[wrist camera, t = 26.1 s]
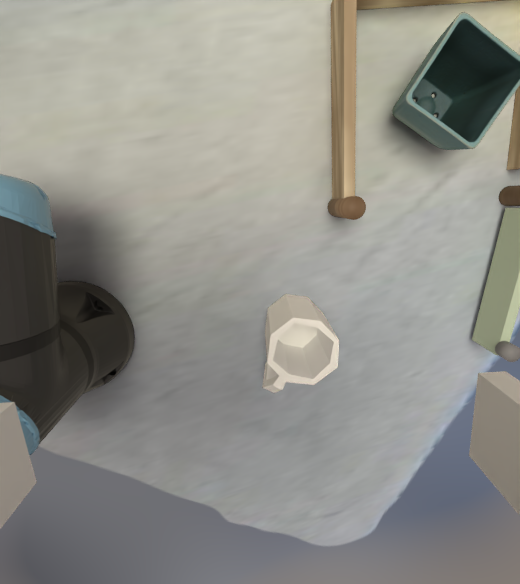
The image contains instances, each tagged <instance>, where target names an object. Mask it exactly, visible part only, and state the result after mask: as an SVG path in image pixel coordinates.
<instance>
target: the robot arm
mask: <svg viewBox="0 0 520 584" xmlns="http://www.w3.org/2000/svg"><path fill="white" fill-rule="evenodd" d="M54 239H56V233H55V232H54V231H53V225H52V218H51V210H50V203H49V199H48V197H47V195H46V194H45V193H44V191H43V190H42V189H40V188H39V187H38V186H37V185H35V184H33V183H31V182H28V181H25V180H22V179H19V178H15V177H11V176H7V175H3V174H0V529H1V527H2V526H3V525H4V524H5V522H6V521H7V520H8V518H9V517H10V516H11V515H12V513H13V512H14V511H15V509H16V508H17V507H18V506H19V504H20V503H21V502H22V500H23V499H24V498H25V497H26V495H27V494H28V493H29V491H30V490H31V489H32V488H33V486H34V485H35V484H36V482H37V481H36V478H35V474H34V471H33V467H32V463H31V460H30V456H29V455H31V454H32V453H33V452H34V451H35V450H36V449H37V447H38V445H39V444H40V442H41V441H42V440H43V439H44V438H45V437H46V435H47V434H48V433H49V432H50V431H51V430H52V429H53V427H54V426H55V425H56V424H57V423H58V422H59V420H60V419H61V418H62V417H63V416H64V415H65V414H66V412H67V411H68V410H69V409H70V408H71V407H72V405H73V404H74V403H75V402H76V401H77V400H78V399H79V397H80V396H81V395H82V394H84V393H86V392H88V391H91V390H93V389H95V388H97V387H100V386H102V385H104V384H106V383H107V382H109V381H110V380H112V379H113V378H114V377H115V376H116V375H117V374H118V373H119V372H120V371H121V370H122V368H123V367H124V366H125V365H126V363H127V362H128V360H129V358H130V356H131V354H132V351H133V346H134V330H133V326H132V323H131V320H130V318H129V315H128V314H127V312H126V310H125V309H124V307H123V306H122V305H121V304H120V302H119V301H118V300H117V299H116V298H114V297H113V296H112V295H111V294H109V293H108V292H107V291H105V290H103V289H101V288H99V287H97V286H95V285H92V284H89V283H84V282H78V281H67V282H60V283H57V268H56V254H55V240H54ZM469 456H470V457H471V458H472V460H473V461H474V462H475V463H476V464H477V466H478V467H479V468H480V469H481V470H482V471H483V473H484V474H485V475H486V476H487V477H488V479H489V480H490V481H491V482H492V483H493V484H494V486H495V487H496V488H497V489H498V491H499V492H500V493H501V494H502V495H503V496H504V498H505V499H506V500H507V501H508V502H509V504H510V505H511V506H512V507H513V508H514V510H515V511H516V512H517V513H518V514H519V515H520V381H519V380H517V379H516V378H514V377H513V376H511V375H510V374H508V373H507V372H506V371H504V372H488V373H478V380H477V389H476V398H475V408H474V416H473V425H472V434H471V443H470V453H469Z"/></svg>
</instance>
